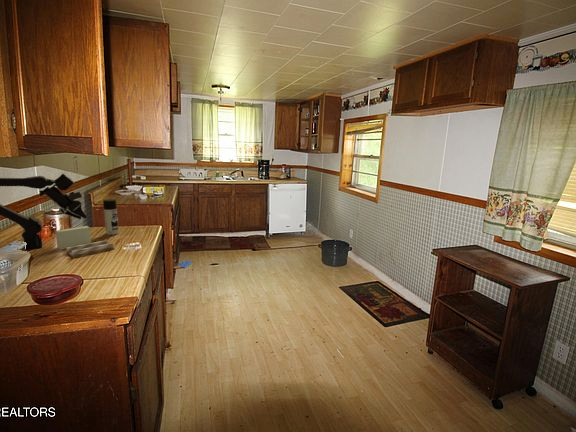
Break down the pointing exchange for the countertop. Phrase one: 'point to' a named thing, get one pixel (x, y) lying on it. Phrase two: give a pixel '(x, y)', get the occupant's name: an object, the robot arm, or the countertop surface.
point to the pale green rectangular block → (73, 237)
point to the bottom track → (89, 249)
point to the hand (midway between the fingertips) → (83, 218)
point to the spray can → (111, 216)
